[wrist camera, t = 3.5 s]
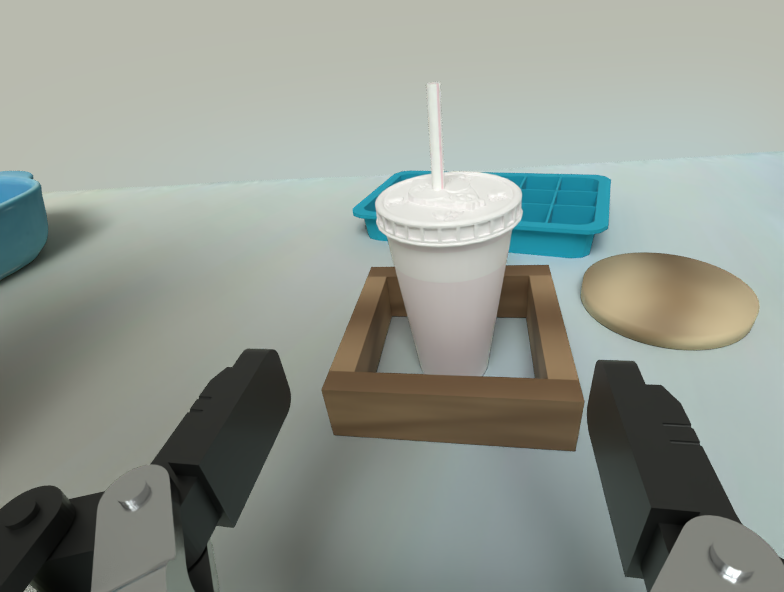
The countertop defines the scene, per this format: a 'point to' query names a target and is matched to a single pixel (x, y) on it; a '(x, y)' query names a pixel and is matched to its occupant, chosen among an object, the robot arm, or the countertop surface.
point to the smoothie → (450, 254)
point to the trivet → (669, 301)
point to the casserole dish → (20, 221)
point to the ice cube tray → (535, 212)
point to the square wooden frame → (458, 377)
